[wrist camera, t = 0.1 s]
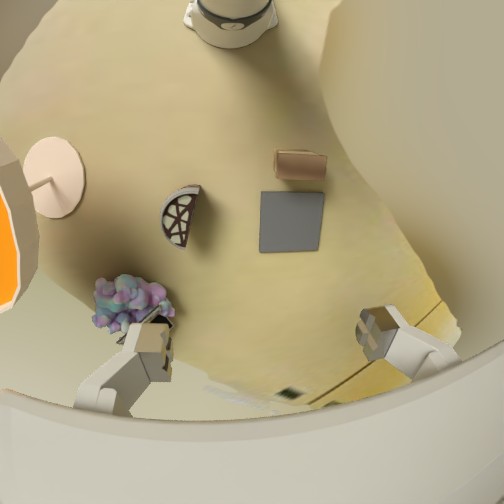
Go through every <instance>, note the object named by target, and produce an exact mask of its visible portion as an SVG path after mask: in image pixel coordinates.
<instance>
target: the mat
mask: <svg viewBox="0 0 504 504" xmlns="http://www.w3.org/2000/svg"><path fill="white" fill-rule="evenodd" d="M323 203H324V193H323V192H261V209H260V238H259V252H281V251H308V250H318V243H319V235H320V228H321V220H322V211H323Z"/></svg>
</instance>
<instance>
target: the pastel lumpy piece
mask: <svg viewBox="0 0 504 504" xmlns="http://www.w3.org/2000/svg"><path fill="white" fill-rule="evenodd" d="M95 288H96V289H95V291H94V300H95V303H96V309H95V310H96V315H94V316H92V321H93V322H94V324H95V326H96V327H98V328H102V327H106V325H107V327H109V330H108V332H109V333H110V334H113V333H115V332H116V331H121V332H122V333H125V334H124V335H123V337H120V338H119V340H118V341H117V342H116V343H115V344H119V345H124V342H125V339H126V336H127V333H128V330H129V327H130V325H131V324H132V323H156V324H168V326H169V330H171V329H172V328H173V327H174V325H173V323H172V322H171V321H170V320H169V318H168V317H174V316H175V309H174V308H173V307H172V305H171V302H170V301H169V300H168V298H166V289H165V288H164V287H163V286H162V285H161V284H159V283H156V282H153V283H147V282H146V281H145V280H143V279H142V278H140V277H133V276H132V275H128V274H122V275H120V276H118V277H117V278H115V280H114V281H107V280H106V279H104V277H101V278H99V279H97V280H96V282H95ZM167 316H168V317H167Z"/></svg>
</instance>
